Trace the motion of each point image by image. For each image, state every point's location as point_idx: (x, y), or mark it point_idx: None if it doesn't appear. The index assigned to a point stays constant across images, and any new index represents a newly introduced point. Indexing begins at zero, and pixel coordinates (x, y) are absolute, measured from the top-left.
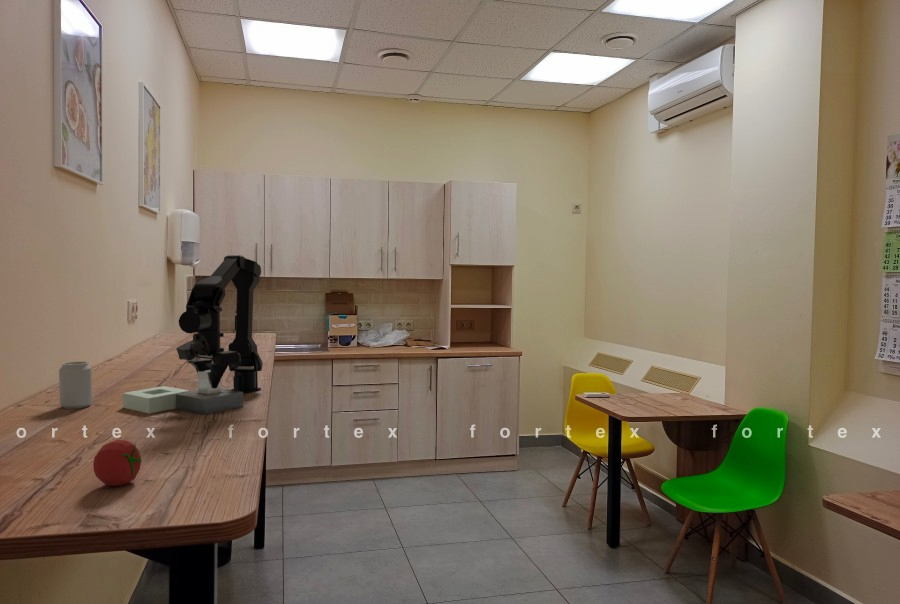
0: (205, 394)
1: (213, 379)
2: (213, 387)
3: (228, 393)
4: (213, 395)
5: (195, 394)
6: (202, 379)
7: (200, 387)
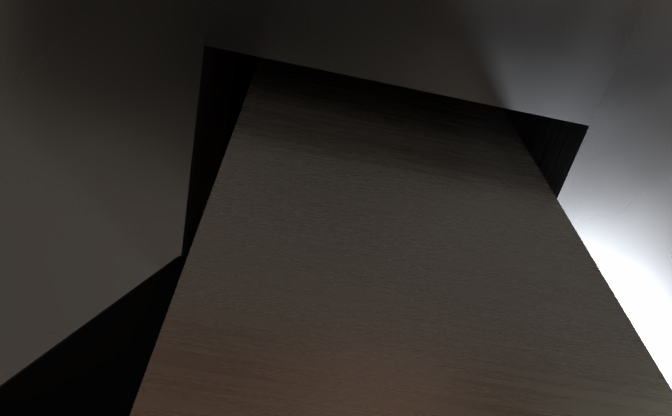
0: (323, 116)
1: (40, 364)
2: (173, 260)
3: (39, 314)
4: (115, 105)
5: (520, 47)
6: (451, 322)
7: (497, 205)
